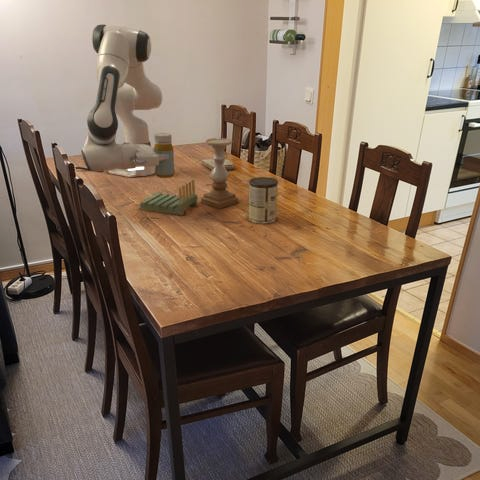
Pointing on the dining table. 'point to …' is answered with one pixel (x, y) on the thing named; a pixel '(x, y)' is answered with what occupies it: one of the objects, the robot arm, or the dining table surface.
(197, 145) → the dining table surface
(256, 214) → the coffee can
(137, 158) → the robot arm
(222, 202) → the candle holder
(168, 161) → the bottle
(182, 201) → the rack
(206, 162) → the washcloth
